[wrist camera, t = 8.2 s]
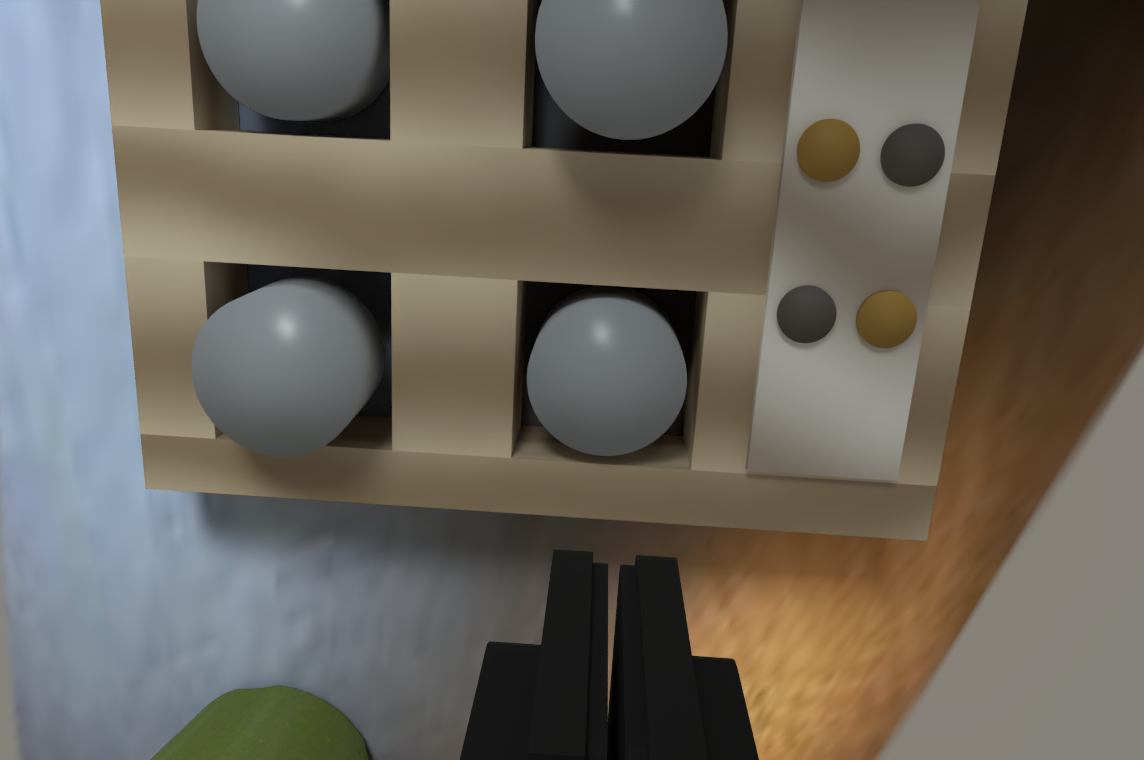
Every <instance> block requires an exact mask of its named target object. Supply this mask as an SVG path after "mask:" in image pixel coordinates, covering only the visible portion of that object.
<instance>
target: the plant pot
mask: <svg viewBox="0 0 1144 760" xmlns="http://www.w3.org/2000/svg"><path fill="white" fill-rule="evenodd" d="M151 760H369V758H368V754H367V750H366V746H365V743H364V740H363V738H362V736H361V735H360V733H359V732H358V731H357V729H356V728H355V727H354V726H353V724H352V723H351V722H350V721H349V720H348V719H347V718H346V717H345V716H344V715H343V714H342V713H341V712H340V711H339V710H338V709H336V708H335V707H334V706H332V705H331V704H329V703H328V702H326V701H324V700H322V699H321V698H318V697H316V696H314V695H312V694H310V693H307V692H305V691H302V690H299V689H296V688H291V687H286V686H272V687H267V688H257V689H237V690H233V691H231V692H228V693H226V694H224V695H222V696H220V697H218V698H217V699H215V700H214V701H213V702H211V703H210V704H209V705H208V706H206V707H205V708H204V709H203V710H202V711H201V712H200V713H199V714H198V715H197V716H196V717H195V718H194V719H193V720H192V721H191V722H189V723H188V724H187V725H186V726H185V727H184V728H183V729H182V730H181V731H180V732H179V733H178V734H177V735H176V736H175V737H174V738H173V739H172V740H171V741H169V742H168V743H167V744H166V745H165V746H164V747H163V748H162V749H161V750H160V751H159V752H158V753H157V754H156V755H155V756H154V757H153V758H152V759H151Z"/></svg>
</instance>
